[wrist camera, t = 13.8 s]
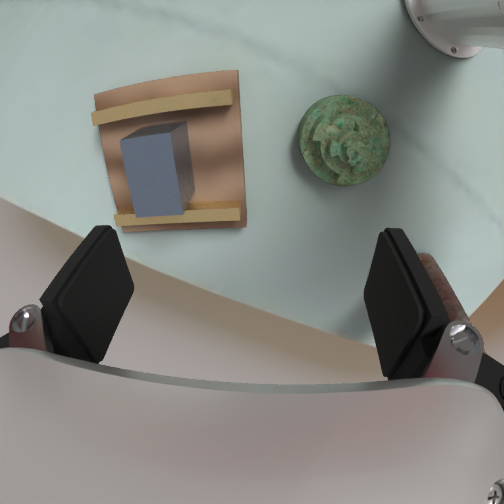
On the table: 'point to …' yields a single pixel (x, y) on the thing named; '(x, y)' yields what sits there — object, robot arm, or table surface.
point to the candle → (444, 290)
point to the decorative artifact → (344, 140)
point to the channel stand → (200, 139)
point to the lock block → (159, 169)
